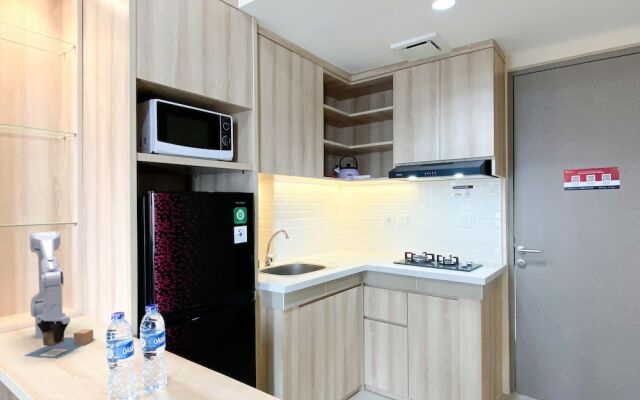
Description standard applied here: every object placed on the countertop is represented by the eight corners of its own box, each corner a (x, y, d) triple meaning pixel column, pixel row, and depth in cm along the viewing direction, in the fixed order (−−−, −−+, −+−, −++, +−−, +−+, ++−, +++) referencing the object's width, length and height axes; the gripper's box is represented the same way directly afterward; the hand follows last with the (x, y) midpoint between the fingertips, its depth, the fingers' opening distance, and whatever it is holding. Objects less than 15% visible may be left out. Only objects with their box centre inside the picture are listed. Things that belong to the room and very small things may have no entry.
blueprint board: (66, 339, 152) (66, 336, 152) (96, 341, 150) (96, 338, 150) (23, 358, 134) (23, 355, 134) (57, 360, 132) (57, 358, 132)
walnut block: (43, 345, 135) (43, 332, 135) (55, 340, 140) (55, 328, 140) (52, 346, 134) (51, 334, 134) (64, 341, 138) (64, 329, 138)
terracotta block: (83, 340, 149) (83, 328, 149) (93, 340, 148) (93, 329, 148) (74, 344, 144) (73, 333, 144) (84, 345, 143) (84, 333, 143)
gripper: (77, 302, 138) (78, 339, 138) (49, 299, 143) (50, 335, 143) (58, 308, 131) (59, 346, 132) (30, 305, 136) (30, 342, 136)
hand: (53, 341), depth 137 cm, fingers closed on walnut block, 4 cm apart
